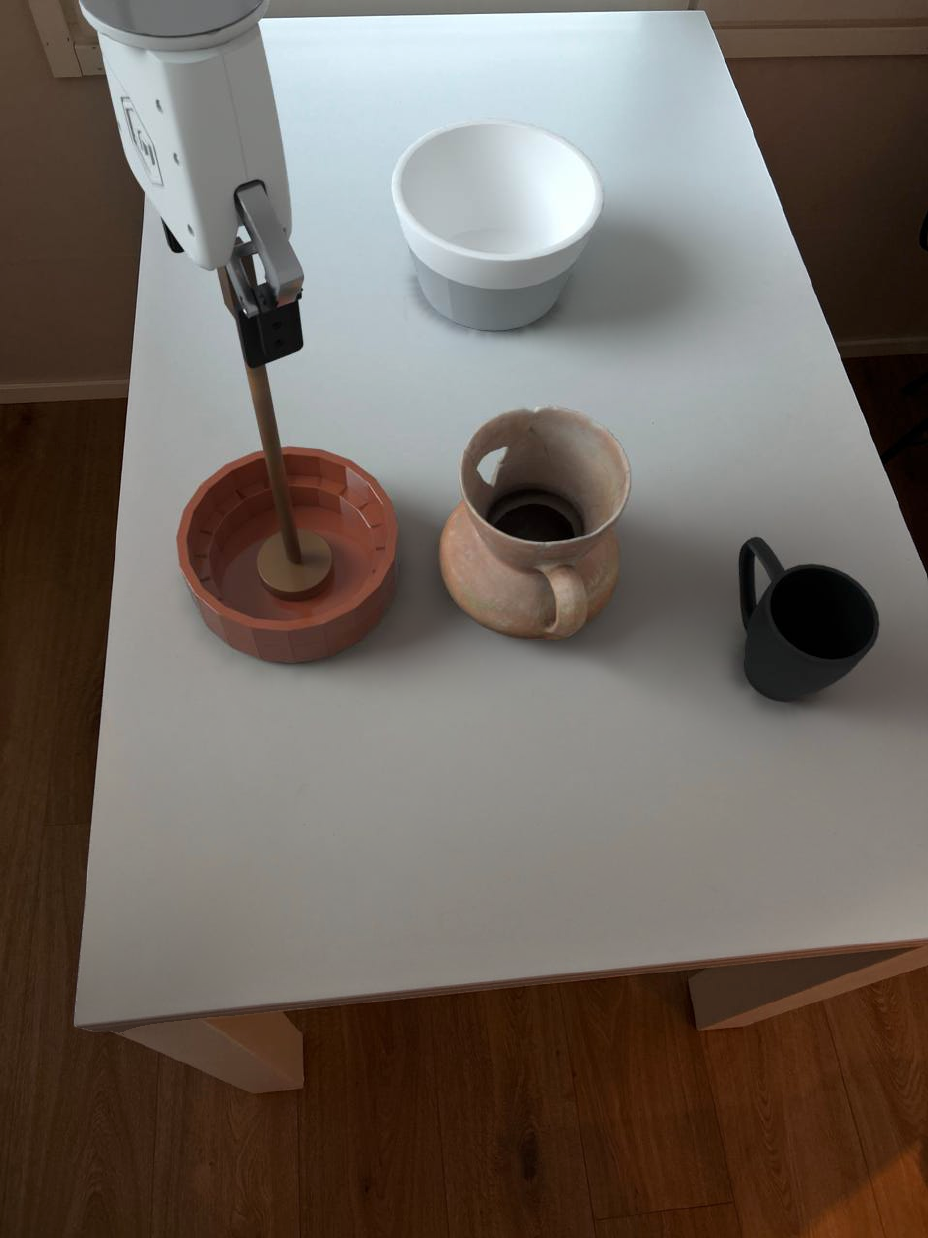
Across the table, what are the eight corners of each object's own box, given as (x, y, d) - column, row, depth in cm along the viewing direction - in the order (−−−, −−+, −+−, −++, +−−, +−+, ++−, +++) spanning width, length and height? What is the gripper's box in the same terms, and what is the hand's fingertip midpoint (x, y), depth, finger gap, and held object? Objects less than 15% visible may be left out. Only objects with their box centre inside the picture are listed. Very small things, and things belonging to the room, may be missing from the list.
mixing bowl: (247, 702, 73) (235, 667, 68) (160, 542, 80) (142, 499, 74) (435, 606, 78) (437, 567, 73) (338, 462, 84) (333, 417, 79)
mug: (762, 574, 81) (802, 508, 73) (850, 692, 76) (904, 636, 68) (680, 610, 79) (712, 547, 70) (765, 734, 74) (810, 682, 66)
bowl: (621, 316, 94) (644, 225, 85) (443, 375, 90) (446, 285, 80) (531, 194, 102) (543, 97, 93) (363, 242, 98) (357, 146, 88)
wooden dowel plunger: (279, 614, 76) (202, 306, 48) (246, 558, 79) (154, 233, 50) (347, 581, 78) (310, 265, 50) (312, 527, 80) (258, 196, 52)
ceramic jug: (422, 502, 83) (423, 389, 70) (585, 482, 85) (615, 368, 72) (460, 692, 74) (469, 602, 62) (640, 665, 76) (684, 572, 64)
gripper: (-2, -124, 40) (108, 224, 55) (167, 108, 33) (240, 432, 48) (169, -160, 42) (230, 184, 57) (359, 51, 35) (372, 378, 50)
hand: (234, 297), depth 53 cm, fingers open, 9 cm apart
